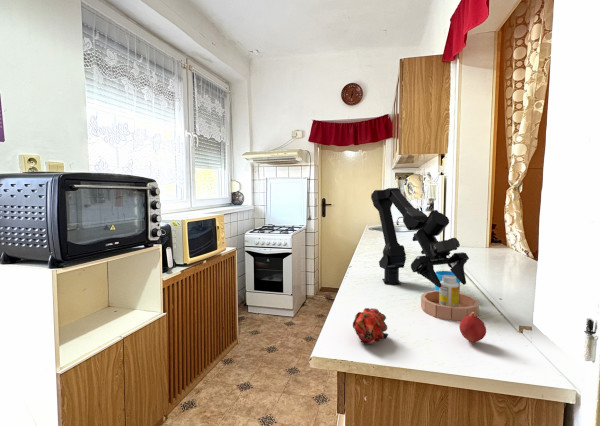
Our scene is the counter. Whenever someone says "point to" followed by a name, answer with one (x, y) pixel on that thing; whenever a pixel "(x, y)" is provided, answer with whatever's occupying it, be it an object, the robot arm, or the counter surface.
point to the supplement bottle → (449, 291)
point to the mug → (441, 273)
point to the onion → (472, 328)
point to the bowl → (445, 312)
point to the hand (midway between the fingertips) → (452, 285)
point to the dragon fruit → (370, 326)
